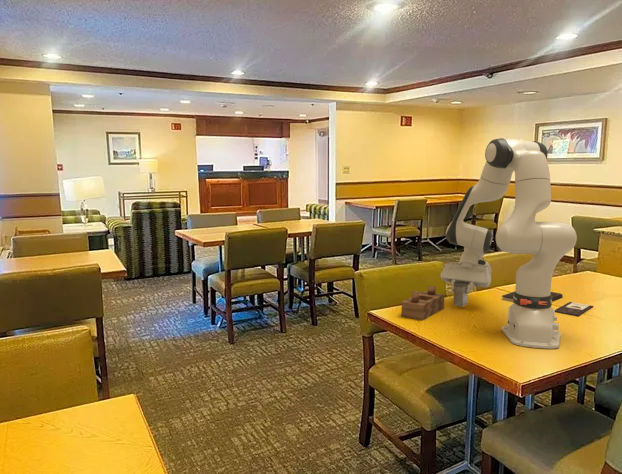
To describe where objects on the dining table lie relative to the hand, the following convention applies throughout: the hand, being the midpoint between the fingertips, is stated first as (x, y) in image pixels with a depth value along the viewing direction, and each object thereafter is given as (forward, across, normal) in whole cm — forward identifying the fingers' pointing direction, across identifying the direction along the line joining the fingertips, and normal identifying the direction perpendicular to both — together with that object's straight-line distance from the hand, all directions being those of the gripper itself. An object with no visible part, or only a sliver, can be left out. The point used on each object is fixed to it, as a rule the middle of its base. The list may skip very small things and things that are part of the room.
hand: (460, 291), depth 194 cm
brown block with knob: (+15, -10, -4) cm, 18 cm away
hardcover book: (-18, +20, +29) cm, 40 cm away
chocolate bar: (-13, +37, +24) cm, 46 cm away
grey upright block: (+4, 0, +4) cm, 6 cm away
